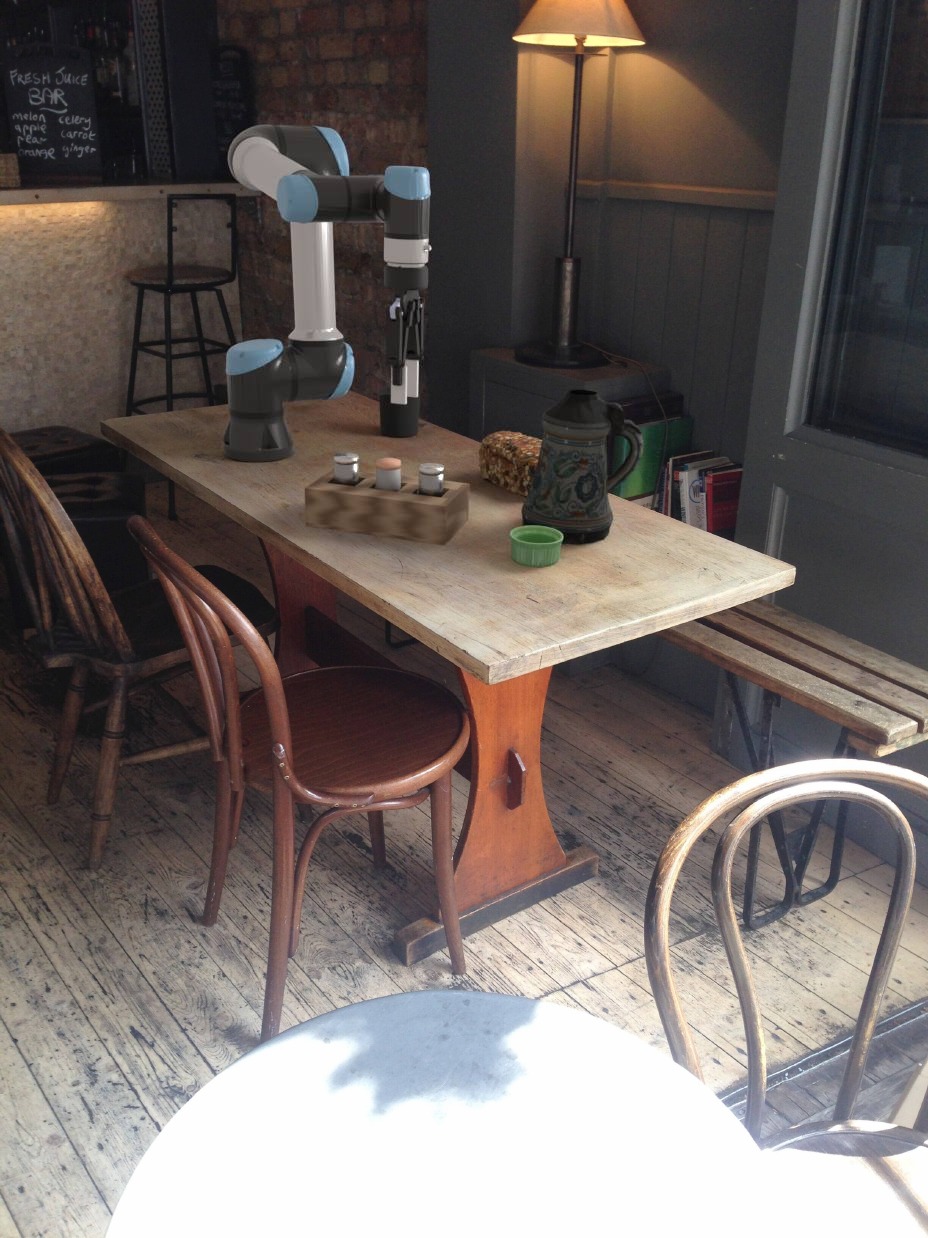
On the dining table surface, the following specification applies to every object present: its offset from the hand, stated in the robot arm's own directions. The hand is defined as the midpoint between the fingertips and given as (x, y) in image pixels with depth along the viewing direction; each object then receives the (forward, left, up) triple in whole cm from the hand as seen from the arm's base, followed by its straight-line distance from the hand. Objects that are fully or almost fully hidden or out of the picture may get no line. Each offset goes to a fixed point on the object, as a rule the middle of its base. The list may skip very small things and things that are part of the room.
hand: (404, 399), depth 196 cm
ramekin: (+29, -15, -21) cm, 39 cm away
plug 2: (+8, -8, -16) cm, 19 cm away
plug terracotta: (0, -8, -16) cm, 18 cm away
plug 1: (-8, -8, -16) cm, 19 cm away
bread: (+17, +24, -21) cm, 36 cm away
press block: (0, -8, -21) cm, 22 cm away
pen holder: (-20, +52, -21) cm, 60 cm away
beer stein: (+32, +2, -21) cm, 38 cm away
